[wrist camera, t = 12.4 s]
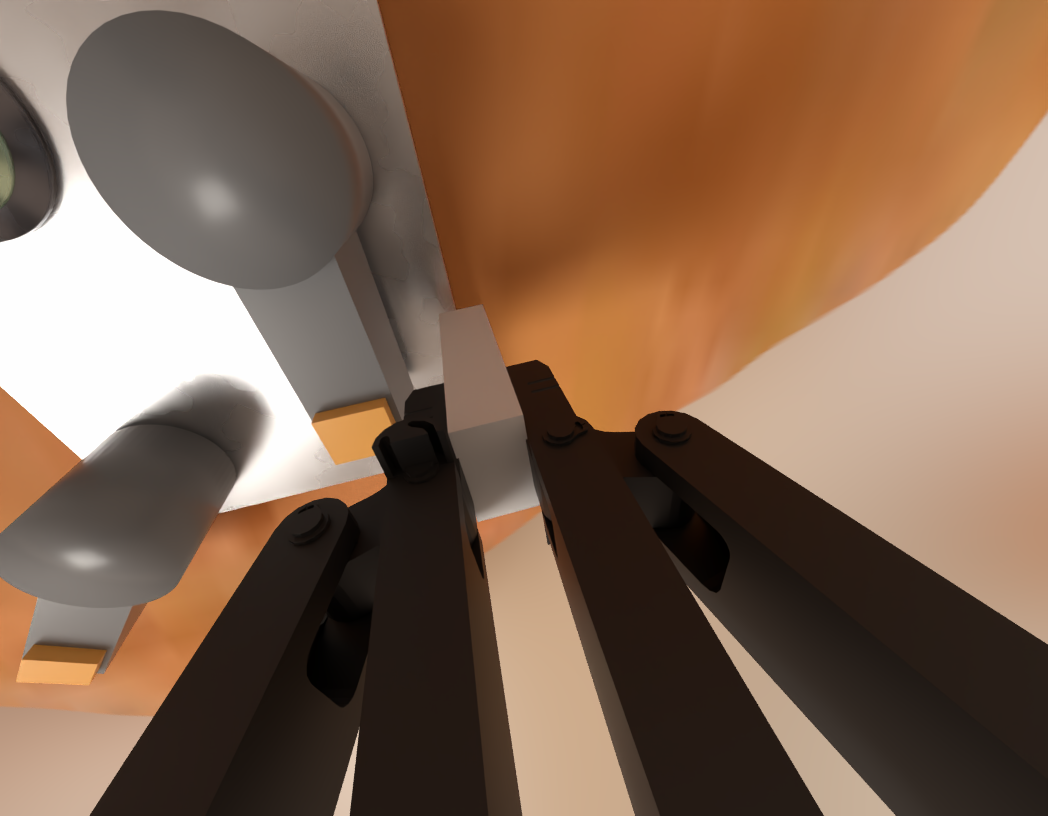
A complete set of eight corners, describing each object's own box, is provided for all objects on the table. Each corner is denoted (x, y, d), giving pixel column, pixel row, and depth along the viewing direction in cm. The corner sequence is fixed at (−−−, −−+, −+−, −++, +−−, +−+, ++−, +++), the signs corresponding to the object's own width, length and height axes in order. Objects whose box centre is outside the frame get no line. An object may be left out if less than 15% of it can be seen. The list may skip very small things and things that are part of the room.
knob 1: (110, 406, 13) (-4, 499, 10) (251, 450, 15) (199, 540, 12) (63, 569, 17) (-35, 682, 13) (184, 587, 19) (128, 689, 15)
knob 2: (153, 76, 9) (-16, 30, 6) (336, 49, 10) (284, -8, 6) (328, 401, 15) (298, 479, 11) (438, 376, 15) (442, 444, 12)
